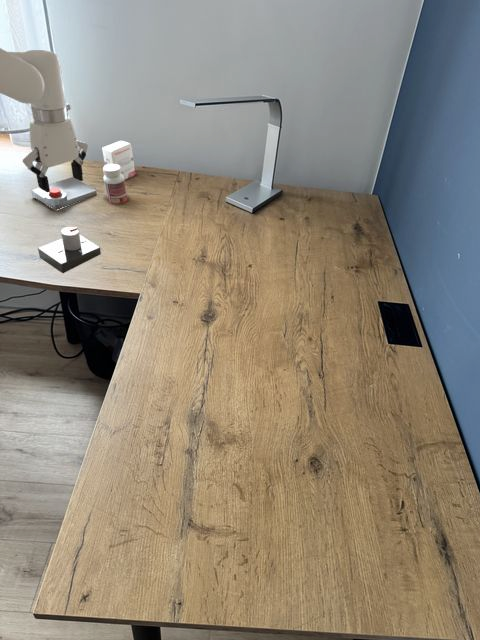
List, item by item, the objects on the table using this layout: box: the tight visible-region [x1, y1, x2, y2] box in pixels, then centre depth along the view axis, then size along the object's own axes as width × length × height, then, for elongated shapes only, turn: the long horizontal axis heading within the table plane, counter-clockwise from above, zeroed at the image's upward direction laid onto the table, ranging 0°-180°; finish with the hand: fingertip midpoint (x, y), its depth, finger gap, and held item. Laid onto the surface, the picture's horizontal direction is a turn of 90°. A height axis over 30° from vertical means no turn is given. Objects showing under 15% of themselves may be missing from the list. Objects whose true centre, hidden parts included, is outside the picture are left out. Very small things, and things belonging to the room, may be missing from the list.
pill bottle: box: [102, 164, 128, 205], centre depth 155 cm, size 6×6×11 cm
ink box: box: [101, 139, 136, 181], centre depth 166 cm, size 9×5×12 cm, turn 145°
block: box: [30, 176, 98, 211], centre depth 156 cm, size 16×13×4 cm
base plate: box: [37, 234, 102, 274], centre depth 133 cm, size 12×10×3 cm
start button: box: [49, 188, 61, 198], centre depth 150 cm, size 3×3×2 cm
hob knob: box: [60, 226, 81, 251], centre depth 131 cm, size 4×4×5 cm
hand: (61, 184), depth 126 cm, fingers open, 9 cm apart
